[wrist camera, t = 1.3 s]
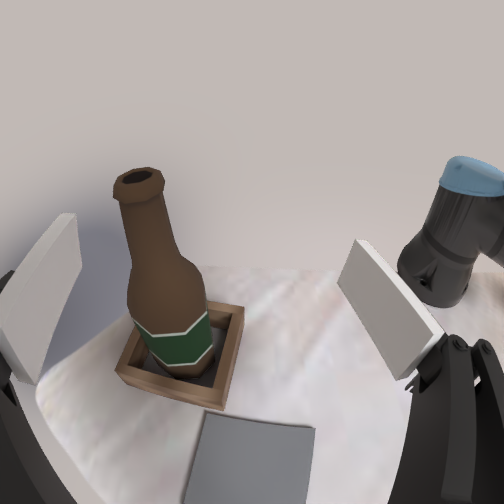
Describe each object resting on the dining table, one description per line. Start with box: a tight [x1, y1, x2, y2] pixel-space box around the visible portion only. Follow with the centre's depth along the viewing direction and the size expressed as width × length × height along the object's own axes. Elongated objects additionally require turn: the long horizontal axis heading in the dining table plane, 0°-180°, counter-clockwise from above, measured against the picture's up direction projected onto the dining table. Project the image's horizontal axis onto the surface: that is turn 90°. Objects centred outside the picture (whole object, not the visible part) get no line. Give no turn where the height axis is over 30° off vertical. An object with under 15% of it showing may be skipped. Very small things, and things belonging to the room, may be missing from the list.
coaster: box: [183, 413, 316, 504], centre depth 22 cm, size 12×12×1 cm
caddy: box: [115, 301, 244, 411], centre depth 31 cm, size 12×12×4 cm
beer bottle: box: [113, 167, 215, 380], centre depth 25 cm, size 8×8×24 cm
